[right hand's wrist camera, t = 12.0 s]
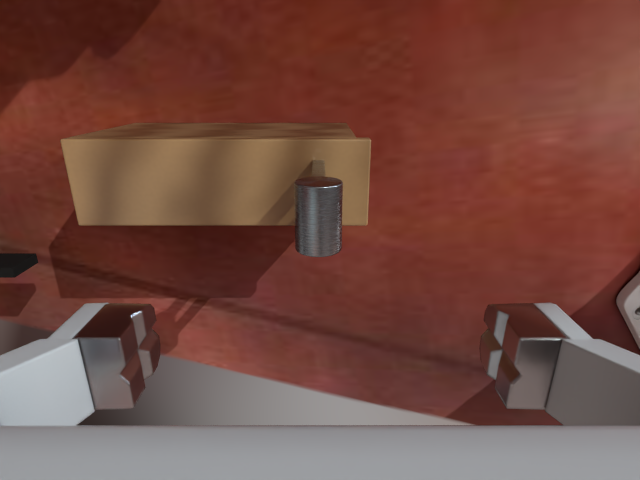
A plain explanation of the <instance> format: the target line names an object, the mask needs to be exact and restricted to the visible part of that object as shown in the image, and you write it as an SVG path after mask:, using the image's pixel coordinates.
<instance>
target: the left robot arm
mask: <svg viewBox="0 0 640 480" xmlns="http://www.w3.org/2000/svg"><path fill="white" fill-rule="evenodd" d="M37 263H38V260H37V256H36V254H0V277H16V276H18V275H19V274H21V273H22V272H24V271H26V270H27V269H29V268H30V267H32V266H33V265H35V264H37Z"/></svg>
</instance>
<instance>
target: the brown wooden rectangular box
mask: <svg viewBox="0 0 640 480" xmlns="http://www.w3.org/2000/svg"><path fill="white" fill-rule="evenodd" d="M69 138H356V137H355V135H354V134H353V132H352V131H351V129H350V128H349V126H348V125H347V124H346V123H133V124H129V125H124V126H119V127H115V128H110V129H106V130H101V131H96V132H92V133H87V134H82V135H78V136H73V137H69Z"/></svg>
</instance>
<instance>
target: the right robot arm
mask: <svg viewBox="0 0 640 480" xmlns="http://www.w3.org/2000/svg"><path fill="white" fill-rule="evenodd" d="M616 303H617V306H618V308H619V310H620V312H621V314H622V316H623V318H624V320H625V322H626V324H627V326H628V328H629V330H630V331H631V333H632V335H633V337H634V339H635V341H636V343H637V345H638V347H639V349H640V271H639V272H638V274H637V275H636V276H635V277H634V278H633V279H632V280H631V281H630V282H629V283H628V284H627V285H626V286H625V287H624V288H623V289H622V290H621V291H620V293H619V294H618V296H617V299H616ZM637 308H638V309H637ZM636 309H637V310H636ZM155 322H156V316H155V311H154V308H153V306H152V305H151V304H125V303H88V304H84V305H83V306H82V307H81V308H80V309H79V310H78V311H77V312H76V313H74V314H73V315H72V316H71V317H70V318H69V319H68V320H67V321H66V322H65V323H64V324H63V325H62V326H60V327H59V328H58V329H57V330H56V331H55V332H54V333H53V334H52V335H51V336H50V337H49V338H47V339H39V340H37V341H34V342H32V343H29V344H27V345H24V346H22V347H19V348H17V349H15V350H12V351H10V352H7V353H5V354H2V355H0V480H640V355H638V354H635V353H633V352H630V351H628V350H625V349H623V348H620V347H618V346H616V345H613V344H611V343H608V342H606V341H603V340H601V339H593V338H591V337H590V336H589V335H588V334H587V333H586V332H585V331H584V330H583V329H582V328H581V327H580V326H579V325H577V324H576V323H575V322H574V321H573V320H572V319H571V318H570V317H569V316H568V315H567V314H566V313H565V312H563V311H562V310H561V309H560V308H559V307H558V306H557V305H556V304H553V303H520V304H491V305H488V306H487V308H486V310H485V315H484V322H485V323H486V325H487V326H488V329H487V330H486V331H485V332H484V334H483V335H482V336H481V340H480V358H481V362H482V365H483V368H484V370H485V372H486V374H487V375H488V376H490V377H492V378H493V379H495V380H496V383H495V389H496V391H497V393H498V394H499V396H500V398H501V400H502V401H503V403H504V405H505V406H506V408H508V409H545V411H546V412H547V413H548V414H550V415H551V416H552V417H554V418H555V419H556V420H558V421H559V422H560V423H562V424H563V425H452V426H451V425H450V426H449V425H433V426H432V425H430V426H429V425H425V426H424V425H421V426H420V425H419V426H417V425H410V426H409V425H408V426H407V425H405V426H403V425H399V426H394V425H388V426H387V425H385V426H384V425H383V426H76V425H77V424H79V423H80V422H81V421H83V420H84V419H85V418H86V417H88V416H89V415H91V414H92V413H93V412H94V411H95V409H130V408H134V406H135V405H136V403H137V401H138V399H139V398H140V396H141V394H142V393H143V391H144V389H145V383H144V380H145V379H147V378H148V377H150V376H152V375H153V373H154V372H155V370H156V368H157V366H158V361H159V357H160V340H159V336H158V335H157V334H156V332H155V331H154V330H153V329H152V326H153V325H154V323H155Z"/></svg>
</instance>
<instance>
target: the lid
mask: <svg viewBox="0 0 640 480" xmlns="http://www.w3.org/2000/svg"><path fill="white" fill-rule="evenodd" d="M60 142H61V146H62V151H63V155H64V160H65V165H66V169H67V174H68V179H69V183H70V188H71V193H72V197H73V202H74V207H75V211H76V216H77V220H78V225H80V226H230V225H295V248H296V250H297V252H299V253H300V254H303V255H306V256H312V257H325V256H331V255H334V254H337V253H338V252H340V250H341V248H342V225H367V224H368V200H369V177H370V154H371V140H370V138H65V139H61V140H60Z"/></svg>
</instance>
